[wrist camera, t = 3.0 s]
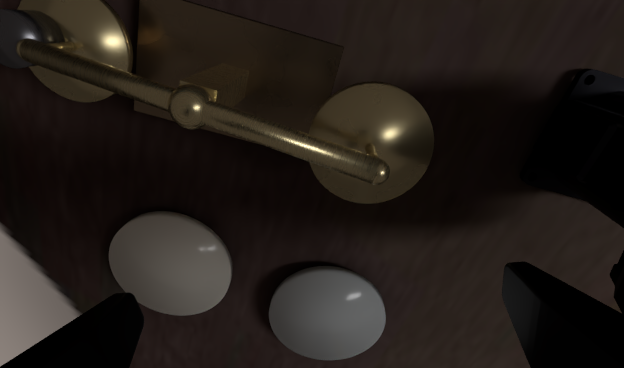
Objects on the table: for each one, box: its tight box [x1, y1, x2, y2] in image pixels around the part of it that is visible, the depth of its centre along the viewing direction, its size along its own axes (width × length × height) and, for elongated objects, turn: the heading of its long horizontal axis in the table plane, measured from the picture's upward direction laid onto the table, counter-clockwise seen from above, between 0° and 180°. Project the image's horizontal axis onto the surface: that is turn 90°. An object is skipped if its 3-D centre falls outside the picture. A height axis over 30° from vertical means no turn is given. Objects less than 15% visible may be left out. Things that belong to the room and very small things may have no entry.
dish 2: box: [269, 266, 386, 360], centre depth 25 cm, size 8×8×1 cm
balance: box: [0, 0, 434, 204], centre depth 15 cm, size 19×6×9 cm, turn 75°
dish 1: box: [109, 211, 233, 315], centre depth 24 cm, size 8×8×1 cm
